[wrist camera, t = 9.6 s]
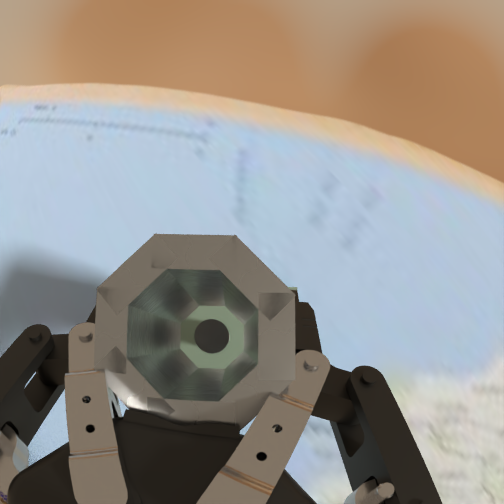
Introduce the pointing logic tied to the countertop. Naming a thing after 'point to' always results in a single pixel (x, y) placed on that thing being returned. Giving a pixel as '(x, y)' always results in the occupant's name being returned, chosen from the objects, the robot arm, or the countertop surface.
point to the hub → (169, 330)
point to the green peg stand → (212, 336)
